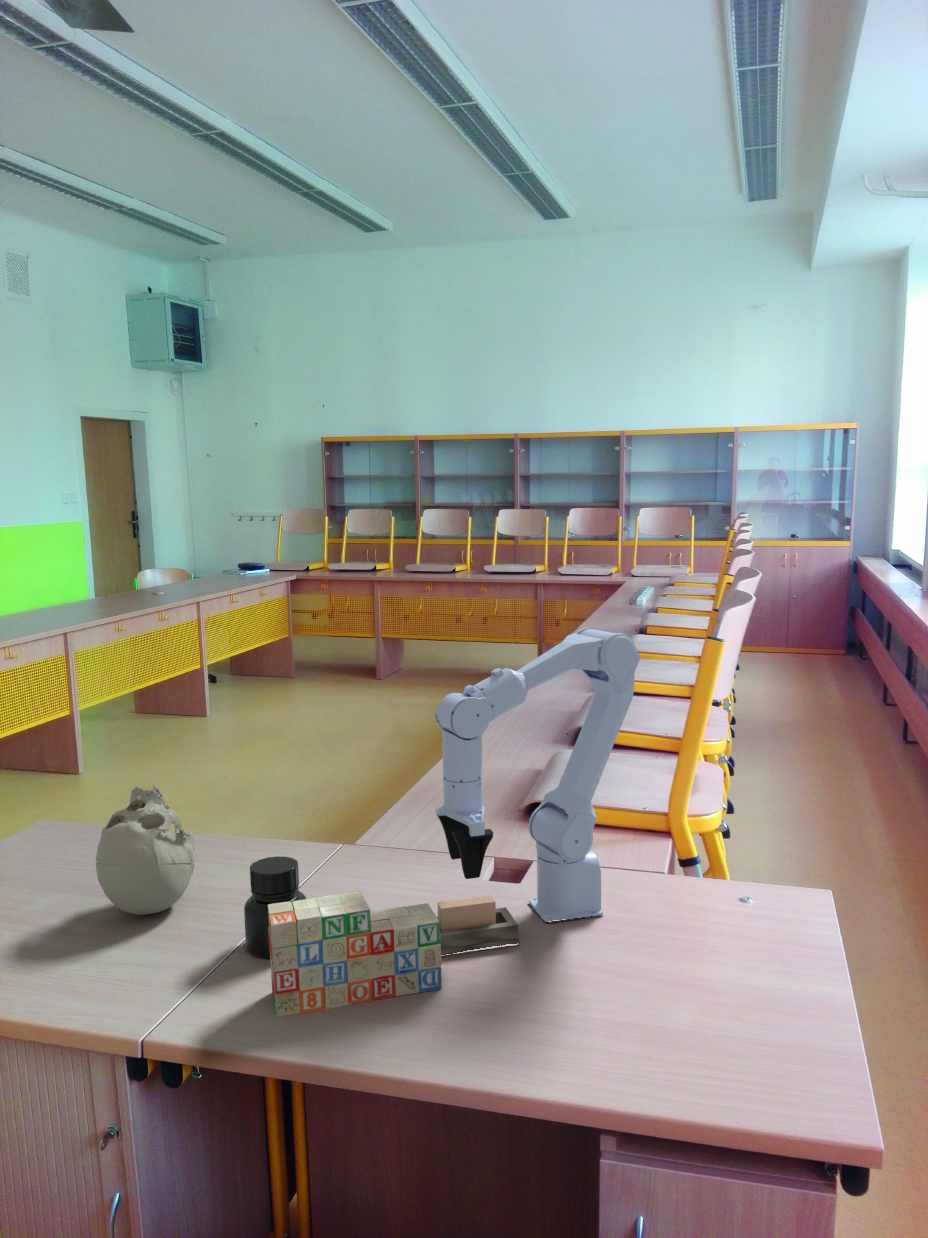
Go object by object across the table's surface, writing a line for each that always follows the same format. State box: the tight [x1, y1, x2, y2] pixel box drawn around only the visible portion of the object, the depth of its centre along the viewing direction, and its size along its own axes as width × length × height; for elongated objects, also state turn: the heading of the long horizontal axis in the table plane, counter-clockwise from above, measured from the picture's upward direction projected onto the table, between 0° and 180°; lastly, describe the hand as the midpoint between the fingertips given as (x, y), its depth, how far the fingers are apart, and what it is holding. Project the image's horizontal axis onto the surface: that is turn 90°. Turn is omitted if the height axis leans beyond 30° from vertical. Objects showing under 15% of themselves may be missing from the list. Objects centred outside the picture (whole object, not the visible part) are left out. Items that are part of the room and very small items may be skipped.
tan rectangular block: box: [437, 895, 497, 931], centre depth 130 cm, size 8×2×5 cm, turn 105°
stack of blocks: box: [268, 890, 442, 1017], centre depth 117 cm, size 21×6×12 cm, turn 106°
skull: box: [95, 784, 195, 916], centre depth 141 cm, size 13×15×20 cm
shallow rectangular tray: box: [436, 907, 520, 955], centre depth 130 cm, size 12×6×3 cm, turn 105°
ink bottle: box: [243, 855, 307, 959], centre depth 130 cm, size 10×9×12 cm
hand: (464, 867), depth 132 cm, fingers open, 7 cm apart
